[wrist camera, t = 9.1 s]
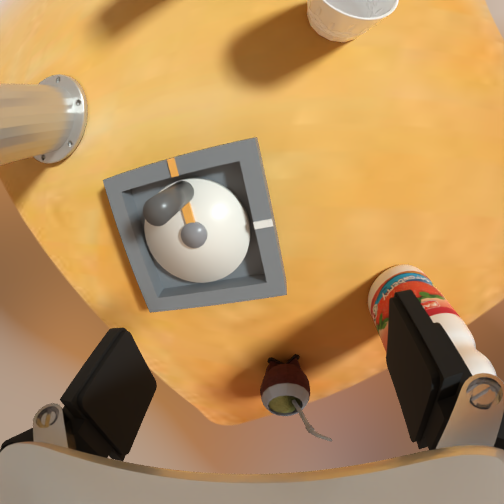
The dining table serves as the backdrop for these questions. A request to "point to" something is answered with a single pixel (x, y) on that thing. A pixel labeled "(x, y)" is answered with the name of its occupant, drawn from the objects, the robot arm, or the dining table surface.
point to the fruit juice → (434, 306)
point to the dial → (197, 229)
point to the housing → (249, 193)
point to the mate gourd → (287, 390)
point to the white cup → (347, 17)
